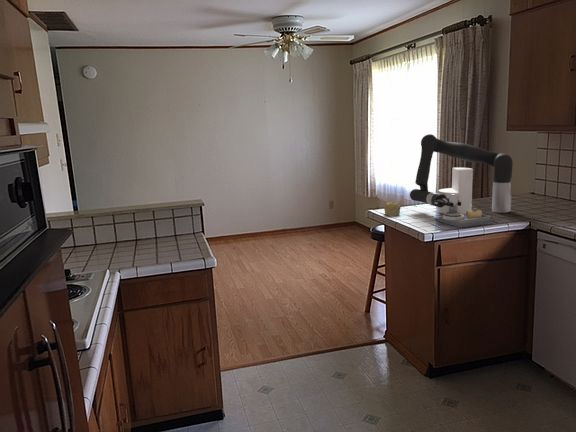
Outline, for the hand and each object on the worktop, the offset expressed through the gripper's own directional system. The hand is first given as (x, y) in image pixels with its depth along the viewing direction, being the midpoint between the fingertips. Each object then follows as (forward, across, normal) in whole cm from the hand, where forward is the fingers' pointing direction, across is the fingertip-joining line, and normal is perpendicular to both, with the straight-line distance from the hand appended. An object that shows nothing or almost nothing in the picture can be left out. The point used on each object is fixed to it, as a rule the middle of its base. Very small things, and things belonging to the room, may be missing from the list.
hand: (456, 204), depth 248 cm
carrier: (+1, +4, +10) cm, 11 cm away
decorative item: (-36, -16, +10) cm, 41 cm away
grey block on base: (-3, 0, +6) cm, 7 cm away
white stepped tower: (-24, +19, +10) cm, 32 cm away
